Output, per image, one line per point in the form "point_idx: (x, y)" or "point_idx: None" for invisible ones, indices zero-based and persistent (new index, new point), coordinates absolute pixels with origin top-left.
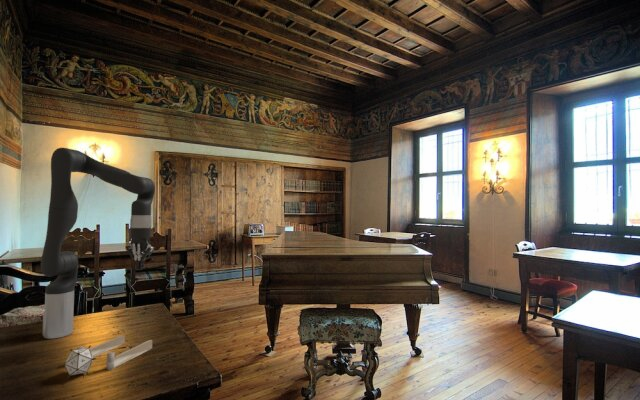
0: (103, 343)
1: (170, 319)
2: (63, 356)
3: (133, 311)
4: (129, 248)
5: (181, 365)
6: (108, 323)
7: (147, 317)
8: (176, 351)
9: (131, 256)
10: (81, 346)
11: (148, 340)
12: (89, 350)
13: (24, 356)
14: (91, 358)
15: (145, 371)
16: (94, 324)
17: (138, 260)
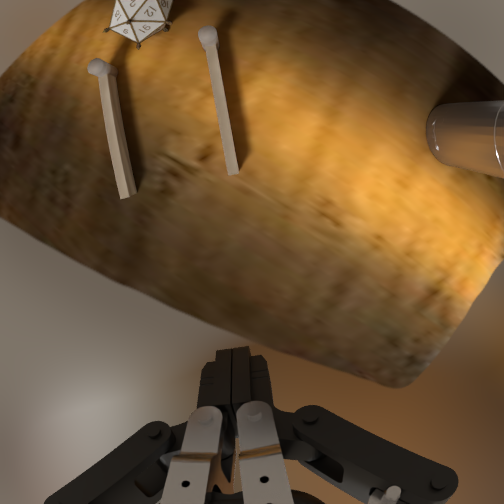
0: (222, 105)
1: (283, 351)
2: (291, 45)
3: (426, 332)
4: (387, 491)
5: (13, 180)
6: (415, 246)
7: (357, 329)
8: (68, 217)
9: (323, 421)
10: (212, 37)
11: (127, 191)
12: (123, 22)
13: (374, 17)
14: (109, 26)
15: (42, 118)
16: (439, 223)
17: (213, 407)
